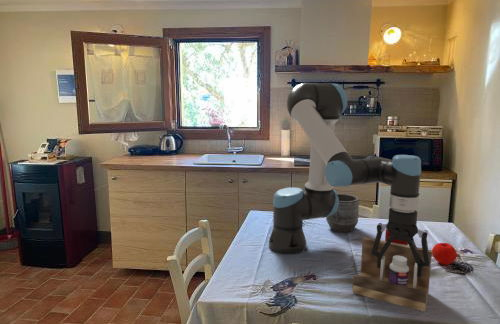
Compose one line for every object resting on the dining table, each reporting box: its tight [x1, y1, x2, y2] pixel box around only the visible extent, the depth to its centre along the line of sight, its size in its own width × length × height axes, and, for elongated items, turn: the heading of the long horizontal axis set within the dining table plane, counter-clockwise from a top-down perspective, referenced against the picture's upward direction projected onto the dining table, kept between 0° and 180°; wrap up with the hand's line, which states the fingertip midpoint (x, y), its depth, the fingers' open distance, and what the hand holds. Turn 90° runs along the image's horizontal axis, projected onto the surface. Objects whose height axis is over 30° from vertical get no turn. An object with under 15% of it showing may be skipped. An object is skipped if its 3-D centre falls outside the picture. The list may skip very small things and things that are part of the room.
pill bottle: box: [388, 255, 409, 287], centre depth 105 cm, size 5×5×10 cm
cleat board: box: [352, 236, 433, 312], centre depth 107 cm, size 20×11×14 cm, turn 59°
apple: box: [431, 242, 458, 266], centre depth 127 cm, size 8×8×7 cm
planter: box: [325, 193, 360, 233], centre depth 161 cm, size 14×14×15 cm
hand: (397, 281), depth 106 cm, fingers open, 8 cm apart
